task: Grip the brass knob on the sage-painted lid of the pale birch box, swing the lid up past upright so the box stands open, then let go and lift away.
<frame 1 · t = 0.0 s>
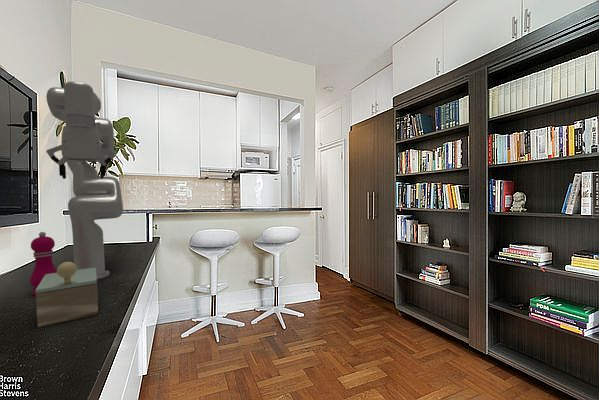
hand: (83, 178, 94), 37 cm above the countertop, tool pointing down, fingers open, 9 cm apart
pepper mill: (45, 293, 98), on the countertop
box: (71, 309, 82), on the countertop
lid: (69, 268, 82), point 11 cm above the countertop, hinge at 0.0°
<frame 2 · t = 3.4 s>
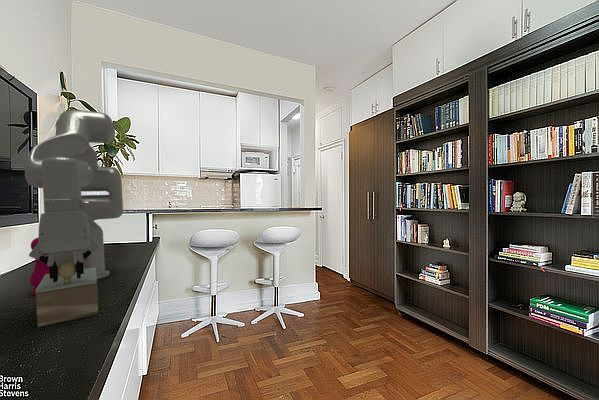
hand: (67, 278, 76), 10 cm above the countertop, tool pointing down, fingers closed on lid, 4 cm apart
lid: (69, 268, 82), point 11 cm above the countertop, hinge at 0.0°, touching gripper
everything else where it was.
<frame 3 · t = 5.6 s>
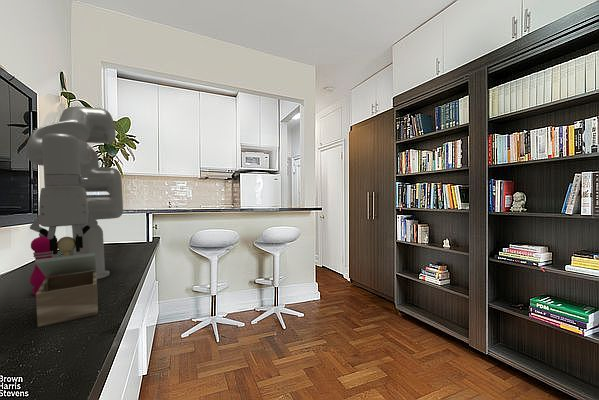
hand: (67, 251, 78), 17 cm above the countertop, tool pointing down, fingers closed on lid, 4 cm apart
lid: (69, 255, 83), point 15 cm above the countertop, hinge at 23.0°, touching gripper
everything else where it was.
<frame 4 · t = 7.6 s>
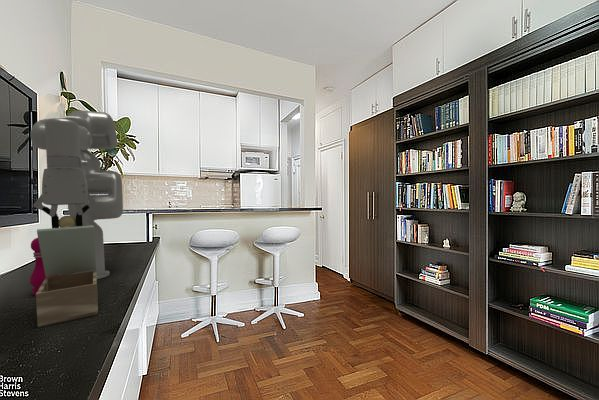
hand: (67, 229, 84), 22 cm above the countertop, tool pointing down, fingers closed on lid, 4 cm apart
lid: (69, 243, 86), point 17 cm above the countertop, hinge at 51.8°, touching gripper
everything else where it was.
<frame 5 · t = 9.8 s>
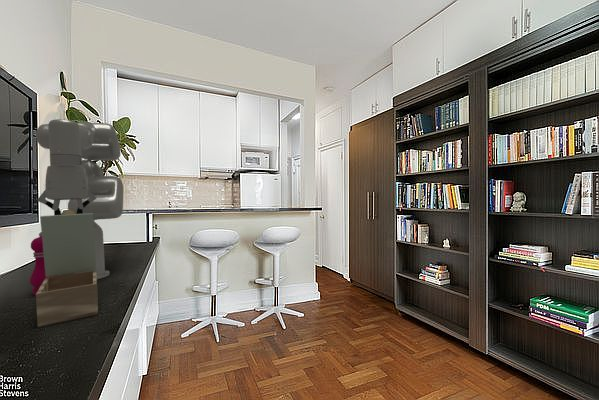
hand: (69, 222, 90), 23 cm above the countertop, tool pointing down, fingers closed on lid, 4 cm apart
lid: (70, 240, 90), point 18 cm above the countertop, hinge at 77.2°, touching gripper
everything else where it was.
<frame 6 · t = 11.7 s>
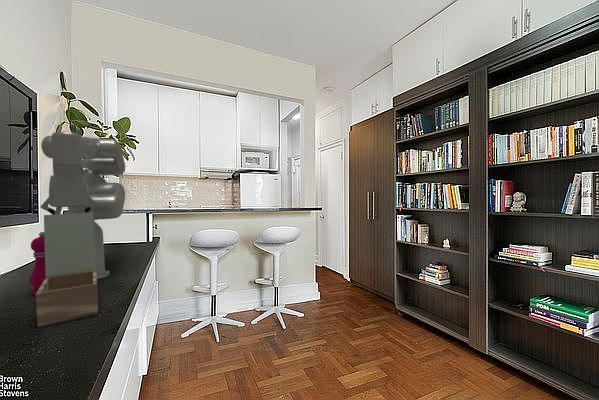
hand: (71, 227, 96), 21 cm above the countertop, tool pointing down, fingers open, 4 cm apart
lid: (71, 242, 93), point 17 cm above the countertop, hinge at 100.2°
everything else where it was.
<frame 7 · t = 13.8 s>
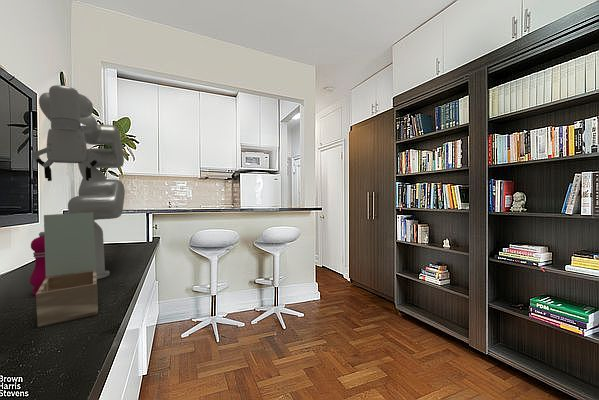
hand: (69, 180, 96), 36 cm above the countertop, tool pointing down, fingers open, 9 cm apart
nothing on the countertop moved.
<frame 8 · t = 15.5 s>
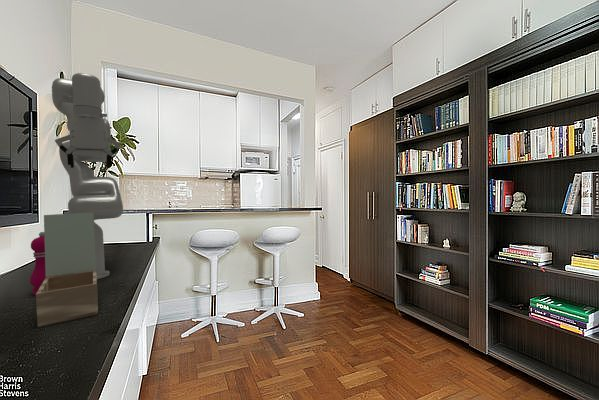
hand: (90, 167, 97), 40 cm above the countertop, tool pointing down, fingers open, 9 cm apart
nothing on the countertop moved.
at the end: lid at +100° (first picture: +0°); the gripper is holding nothing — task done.
